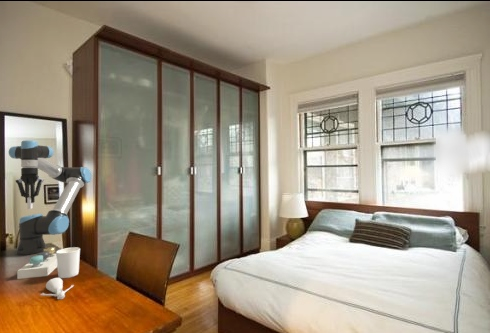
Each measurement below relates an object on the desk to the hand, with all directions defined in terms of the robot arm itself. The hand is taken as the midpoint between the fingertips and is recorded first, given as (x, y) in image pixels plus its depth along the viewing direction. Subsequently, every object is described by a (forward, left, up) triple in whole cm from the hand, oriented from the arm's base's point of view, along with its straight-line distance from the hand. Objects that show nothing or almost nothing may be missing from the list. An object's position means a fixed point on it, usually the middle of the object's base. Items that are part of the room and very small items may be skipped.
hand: (30, 208), depth 156 cm
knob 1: (+29, +6, -28) cm, 41 cm away
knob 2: (+14, +10, -28) cm, 33 cm away
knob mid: (+21, +8, -28) cm, 36 cm away
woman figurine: (+60, +15, -30) cm, 69 cm away
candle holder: (+40, +19, -30) cm, 53 cm away
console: (+22, +8, -29) cm, 37 cm away
